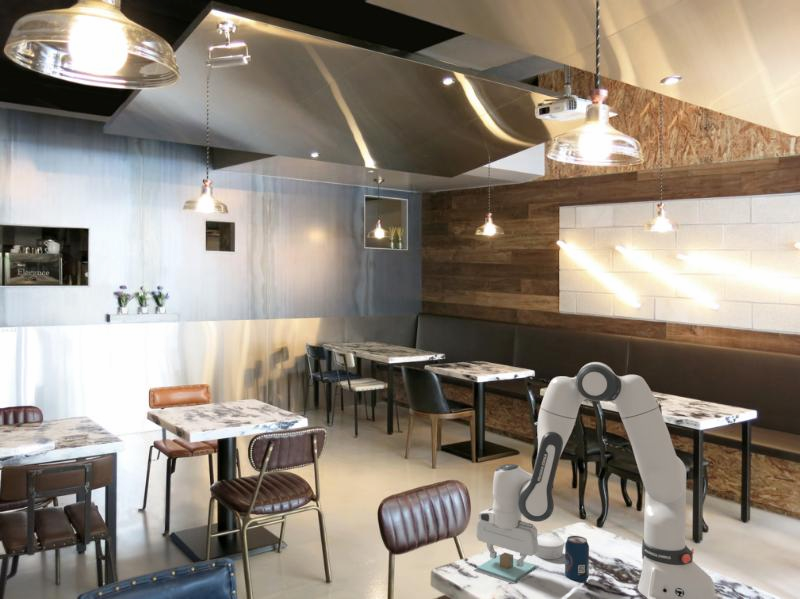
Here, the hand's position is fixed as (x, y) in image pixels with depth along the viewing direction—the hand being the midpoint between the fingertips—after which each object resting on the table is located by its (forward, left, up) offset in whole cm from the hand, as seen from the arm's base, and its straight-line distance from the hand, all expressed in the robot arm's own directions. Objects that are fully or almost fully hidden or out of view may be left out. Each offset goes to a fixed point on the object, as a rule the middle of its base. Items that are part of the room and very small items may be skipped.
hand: (506, 561), depth 200 cm
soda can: (-19, -9, -3) cm, 21 cm away
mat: (0, 0, -3) cm, 3 cm away
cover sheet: (0, 0, -2) cm, 2 cm away
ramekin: (-4, -19, -3) cm, 20 cm away
